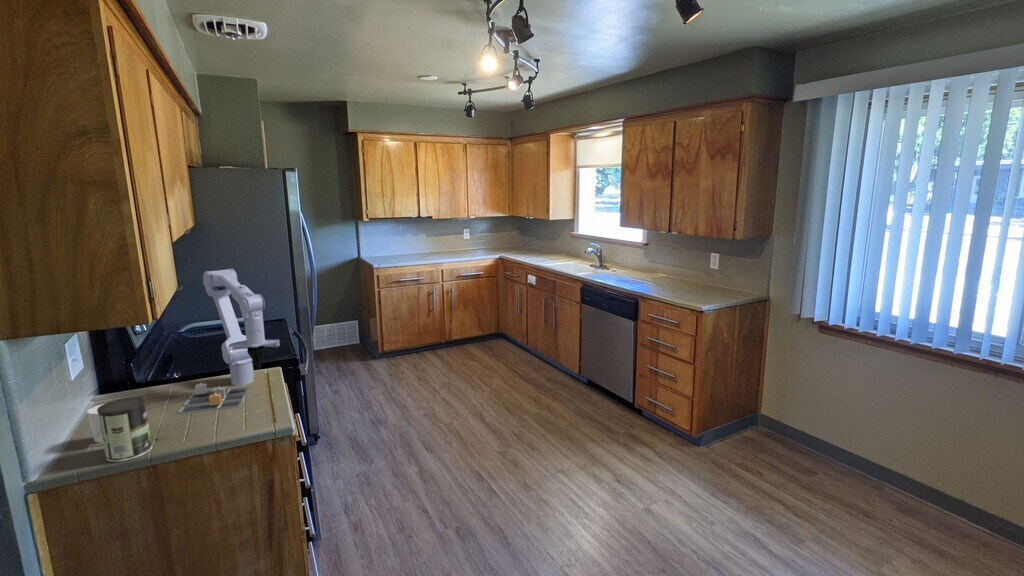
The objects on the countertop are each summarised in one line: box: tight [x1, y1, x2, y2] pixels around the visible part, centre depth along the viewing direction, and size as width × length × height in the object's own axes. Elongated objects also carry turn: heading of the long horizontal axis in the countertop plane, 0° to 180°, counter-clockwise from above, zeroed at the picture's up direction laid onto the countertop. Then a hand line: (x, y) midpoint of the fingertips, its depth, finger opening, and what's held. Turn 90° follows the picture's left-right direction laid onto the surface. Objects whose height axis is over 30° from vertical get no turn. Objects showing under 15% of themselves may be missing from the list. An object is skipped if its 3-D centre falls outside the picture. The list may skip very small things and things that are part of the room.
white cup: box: [86, 403, 105, 444], centre depth 142 cm, size 8×8×10 cm
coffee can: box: [97, 396, 153, 463], centre depth 135 cm, size 10×10×14 cm
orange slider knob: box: [209, 393, 222, 406], centre depth 163 cm, size 2×3×4 cm, turn 108°
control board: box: [174, 386, 249, 416], centre depth 169 cm, size 19×18×1 cm
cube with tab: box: [194, 382, 208, 395], centre depth 172 cm, size 2×3×4 cm, turn 108°
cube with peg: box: [212, 386, 226, 398], centre depth 169 cm, size 2×3×4 cm, turn 109°
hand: (258, 367), depth 175 cm, fingers closed
